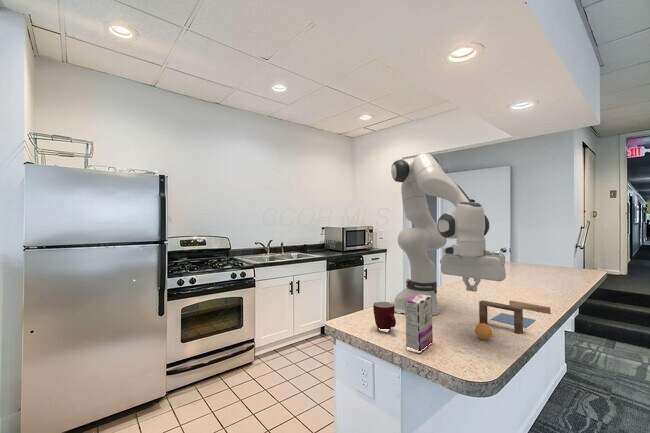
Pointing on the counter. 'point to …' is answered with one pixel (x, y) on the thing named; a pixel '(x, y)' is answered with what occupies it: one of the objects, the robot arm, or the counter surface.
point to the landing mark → (511, 319)
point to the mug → (384, 315)
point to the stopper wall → (531, 307)
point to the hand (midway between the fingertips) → (471, 290)
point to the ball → (483, 331)
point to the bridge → (517, 310)
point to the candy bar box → (418, 322)
